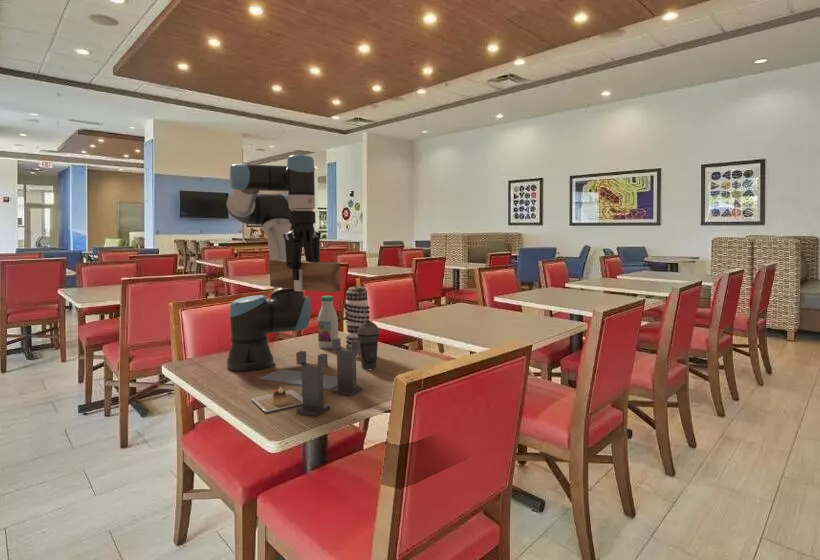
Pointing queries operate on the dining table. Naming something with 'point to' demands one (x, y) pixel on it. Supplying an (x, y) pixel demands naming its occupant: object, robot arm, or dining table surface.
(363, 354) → the beverage cup
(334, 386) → the mat
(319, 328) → the milk bottle
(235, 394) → the dining table surface
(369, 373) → the dining table surface
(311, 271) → the rail
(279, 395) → the dessert
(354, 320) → the decorative candle
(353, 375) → the standards
